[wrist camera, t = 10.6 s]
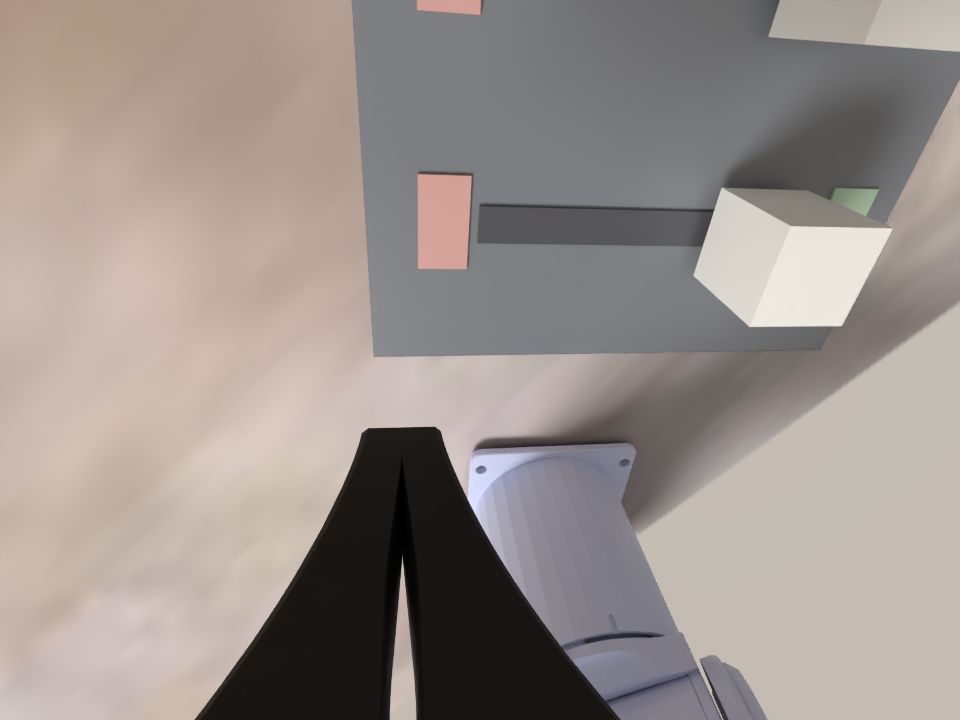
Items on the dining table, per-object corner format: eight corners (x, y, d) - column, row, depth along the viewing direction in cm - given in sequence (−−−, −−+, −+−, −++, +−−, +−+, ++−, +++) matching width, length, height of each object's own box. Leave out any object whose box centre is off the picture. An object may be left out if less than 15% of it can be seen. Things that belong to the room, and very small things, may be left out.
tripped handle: (772, 276, 18) (841, 326, 15) (693, 275, 18) (749, 326, 15) (807, 190, 16) (892, 228, 14) (721, 187, 16) (791, 226, 13)
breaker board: (796, 331, 22) (821, 351, 21) (375, 335, 20) (373, 358, 18) (1046, -196, 13) (1116, -218, 12) (338, -309, 11) (330, -353, 10)
